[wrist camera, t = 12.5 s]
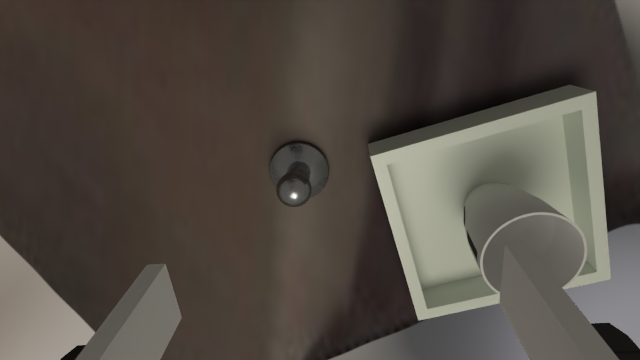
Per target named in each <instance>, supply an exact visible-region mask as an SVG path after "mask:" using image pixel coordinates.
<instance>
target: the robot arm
mask: <svg viewBox="0 0 640 360" xmlns="http://www.w3.org/2000/svg"><path fill="white" fill-rule="evenodd" d="M499 303H500V305H501V307H502V309H503V311H504V313H505V314H506V316H507V318H508V320H509V322H510V324H511V326H512V327H513V329H514V331H515V333H516V335H517V337H518V339H519V340H520V342H521V344H522V346H523V348H524V350H525V352H526V353H527V355H528V357H529V359H530V360H640V349H639V348H638V347H637V346H636V344H635V343H634V342H633V341H632V340H631V339H630V338H629V337H628V336H627V335H626V334H624V333H623V332H622V331H620V330H619V329H617V328H616V327H614V326H613V325H611V324H610V323H595V324H590V322H589V321H588V320H587V318H586V317H585V316H584V315H583V314H582V312H581V311H580V310H579V308H578V307H577V306H576V305H575V303H574V302H573V301H572V300H571V298H570V297H569V296H568V295H567V294H566V292H565V291H564V290H563V288H562V287H561V286H560V285H559V283H558V282H557V281H556V279H555V278H554V277H553V276H552V274H551V273H550V272H549V271H548V269H547V268H546V267H545V266H544V264H543V263H542V262H541V261H540V259H539V258H538V257H537V256H536V254H535V253H534V252H533V251H532V249H531V248H530V247H529V246H528V244H527V243H515V244H505V249H504V259H503V270H502V280H501V291H500V301H499ZM181 318H182V317H181V314H180V310H179V307H178V304H177V300H176V297H175V294H174V291H173V287H172V284H171V281H170V277H169V274H168V271H167V267H166V264H152V265H146V267H145V268H144V269H143V271H142V272H141V273H140V275H139V276H138V277H137V279H136V280H135V281H134V283H133V284H132V285H131V287H130V288H129V289H128V291H127V292H126V293H125V295H124V296H123V297H122V298H121V300H120V301H119V302H118V304H117V305H116V306H115V308H114V309H113V310H112V312H111V313H110V314H109V316H108V317H107V318H106V320H105V321H104V322H103V324H102V325H101V326H100V328H99V329H98V330H97V331H96V333H95V334H94V336H93V337H92V338H91V339H90V341H89V342H88V343H87V345H81V346H76V347H75V348H74V349H73V350H71V351H70V352H69V353H68V354H66V355H65V356H64V357H63V358H61V360H160V359H161V357H162V355H163V353H164V351H165V349H166V347H167V345H168V343H169V341H170V339H171V337H172V335H173V334H174V332H175V330H176V328H177V326H178V324H179V322H180V320H181Z"/></svg>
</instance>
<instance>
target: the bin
mask: <svg viewBox="0 0 640 360" xmlns="http://www.w3.org/2000/svg"><path fill="white" fill-rule="evenodd" d="M368 148H369V153H370V158H371V161H372V164H373V168H374V171H375V175H376V178H377V181H378V185H379V188H380V192H381V195H382V198H383V202H384V205H385V208H386V212H387V215H388V219H389V222H390V225H391V229H392V232H393V236H394V239H395V242H396V246H397V249H398V253H399V256H400V259H401V263H402V266H403V270H404V273H405V276H406V280H407V283H408V287H409V290H410V293H411V297H412V300H413V304H414V307H415V310H416V314H417V317H418V321H419V320H423V319H428V318H432V317H437V316H442V315H446V314H451V313H456V312H461V311H465V310H470V309H474V308H479V307H484V306H488V305H493V304H498V303H499V301H500V295H499V294H498V293H496V292H495V291H493V290H492V289H491V288H490V287H489V286H488V285H487V283H486V282H485V280H484V278H483V276H482V274H481V272H480V270H479V267H478V265H477V263H476V261H475V258H474V256H473V254H472V252H471V250H470V247H469V243H468V239H467V235H466V231H465V227H464V222H463V215H464V203H465V200H466V198H467V196H468V194H469V193H470V192H471V191H472V190H473V189H474V188H476V187H477V186H479V185H482V184H485V183H490V182H494V183H500V184H505V185H510V186H514V187H517V188H519V189H521V190H523V191H525V192H527V193H529V194H531V195H533V196H536V197H538V198H540V199H541V200H543V201H544V202H546V203H547V204H549V205H550V206H552V207H553V208H554V209H556V210H557V211H559V212H560V213H561V214H563V215H564V216H566V217H567V218H568V219H570V220H571V221H573V222H574V223H575V224H576V225H577V226H578V227H579V228H580V229H581V231H582V232H583V234H584V236H585V239H586V243H587V257H586V261H585V264H584V266H583V268H582V270H581V272H580V273H579V275H578V276H577V277H576V278H575V279H574V281H573V282H571V283H570V284H569V285H568V286H567V287H565V288H564V289H567V288H572V287H576V286H581V285H586V284H590V283H595V282H599V281H604V280H608V279H611V275H610V264H609V263H610V262H609V250H608V237H607V224H606V212H605V200H604V187H603V175H602V162H601V150H600V137H599V125H598V113H597V100H596V91H592V90H589V89H585V88H581V87H577V86H574V85H567V86H563V87H560V88H556V89H553V90H550V91H546V92H543V93H539V94H536V95H533V96H529V97H526V98H522V99H519V100H516V101H512V102H509V103H505V104H502V105H499V106H495V107H492V108H488V109H485V110H482V111H478V112H475V113H471V114H468V115H465V116H461V117H458V118H455V119H451V120H448V121H444V122H441V123H438V124H434V125H431V126H427V127H424V128H421V129H417V130H414V131H410V132H407V133H404V134H400V135H397V136H393V137H390V138H387V139H383V140H380V141H376V142H373V143H370V144H368Z"/></svg>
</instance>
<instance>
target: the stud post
mask: <svg viewBox="0 0 640 360" xmlns="http://www.w3.org/2000/svg"><path fill="white" fill-rule="evenodd" d="M328 175H329V167H328V162H327V160H326V157H325V156H324V154H323V153H322V152H321V151H320V150H319V149H318V148H317V147H315V146H313V145H311V144H309V143H305V142H293V143H289V144H286V145H285V146H283V147H281V148H280V149H279V150H278V151H277V152H276V154H275V155H274V157H273V159H272V161H271V164H270V178H271V181H272V183H273V185H274V186H275V188H276V192H277V196H278V198H279V199H280V201H281V202H282V203H283V204H285V205H287V206H290V207H298V206H301V205H303V204H305V203H306V202H307V201H308V199H309V198H311V197H313V196H315V195H317V194H318V193H319V192H321V191H322V189H323V188H324V187H325V185H326V183H327V180H328Z"/></svg>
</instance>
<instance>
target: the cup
mask: <svg viewBox="0 0 640 360" xmlns="http://www.w3.org/2000/svg"><path fill="white" fill-rule="evenodd" d="M463 222H464V227H465V231H466V235H467V239H468V243H469V247H470V250H471V252H472V254H473V256H474V258H475V261H476V263H477V265H478V267H479V270H480V272H481V274H482V276H483V278H484V280H485V282H486V283H487V285H488V286H489V287H490V288H491V289H492V290H493V291H495V292H496V293H498V294H499V295H500V291H501V280H502V270H503V259H504V249H505V244H515V243H527V244H528V246H529V247H530V248H531V249H532V251H533V252H534V253H535V254H536V256H537V257H538V258H539V259H540V261H541V262H542V263H543V264H544V266H545V267H546V268H547V269H548V271H549V272H550V273H551V274H552V276H553V277H554V278H555V279H556V281H557V282H558V283H559V285H560V286H561V287H562V288H563V289H564V288H565V287H567V286H568V285H569V284H570V283H571V282H573V281H574V279H575V278H576V277H577V276H578V275H579V273H580V272H581V270H582V268H583V266H584V264H585V261H586V257H587V243H586V239H585V236H584V234H583V232H582V231H581V229H580V228H579V227H578V226H577V225H576V224H575V223H574V222H573V221H571V220H570V219H568V218H567V217H566V216H564V215H563V214H561V213H560V212H559V211H557V210H556V209H554V208H553V207H552V206H550V205H549V204H547V203H546V202H544V201H543V200H541V199H540V198H538V197H536V196H533V195H531V194H529V193H527V192H525V191H523V190H521V189H519V188H517V187H514V186H510V185H505V184H500V183H494V182H490V183H485V184H482V185H479V186H477V187H476V188H474V189H473V190H472V191H471V192H470V193H469V194H468V196H467V198H466V200H465V203H464V215H463Z"/></svg>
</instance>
